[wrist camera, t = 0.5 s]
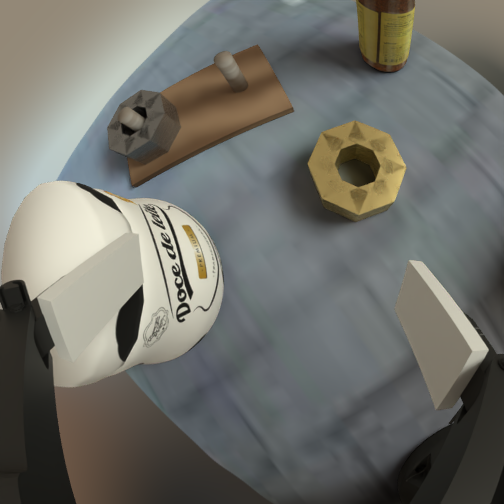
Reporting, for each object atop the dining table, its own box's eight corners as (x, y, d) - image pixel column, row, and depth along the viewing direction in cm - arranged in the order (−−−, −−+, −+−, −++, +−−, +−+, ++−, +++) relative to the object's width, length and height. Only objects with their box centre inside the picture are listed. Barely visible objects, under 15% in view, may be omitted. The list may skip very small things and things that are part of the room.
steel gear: (185, 142, 33) (168, 129, 29) (131, 173, 35) (111, 165, 31) (172, 94, 34) (157, 79, 30) (123, 125, 36) (106, 114, 32)
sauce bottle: (411, 52, 26) (429, -68, 7) (399, 82, 27) (421, -51, 8) (365, 34, 28) (358, -86, 9) (349, 62, 29) (337, -72, 10)
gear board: (294, 111, 30) (282, 76, 24) (136, 187, 36) (100, 173, 29) (259, 48, 32) (244, 15, 25) (125, 120, 38) (95, 100, 31)
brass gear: (407, 202, 26) (417, 192, 23) (332, 230, 29) (332, 224, 25) (373, 130, 28) (377, 113, 24) (302, 156, 30) (297, 141, 26)
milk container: (264, 256, 30) (170, 239, 13) (188, 379, 32) (80, 444, 15) (151, 185, 35) (38, 137, 18) (98, 296, 37) (-12, 304, 20)
